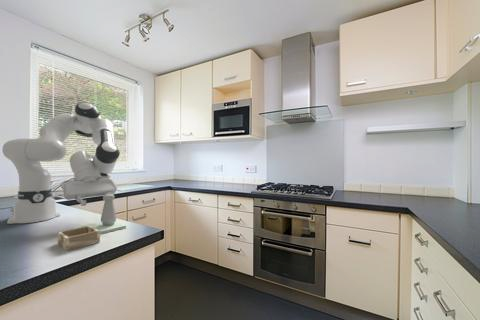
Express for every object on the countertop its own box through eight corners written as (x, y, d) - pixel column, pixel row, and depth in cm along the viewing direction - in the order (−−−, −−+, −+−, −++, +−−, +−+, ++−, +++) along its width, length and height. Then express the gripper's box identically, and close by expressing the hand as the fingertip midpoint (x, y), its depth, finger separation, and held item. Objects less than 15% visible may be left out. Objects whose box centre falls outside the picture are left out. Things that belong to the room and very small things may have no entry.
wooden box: (57, 243, 75) (57, 232, 75) (89, 236, 83) (89, 225, 83) (66, 250, 69) (66, 238, 69) (99, 241, 77) (99, 230, 77)
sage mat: (81, 228, 92) (81, 226, 92) (111, 221, 101) (111, 219, 101) (94, 235, 83) (94, 233, 83) (126, 227, 93) (126, 225, 93)
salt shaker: (97, 225, 93) (97, 195, 93) (109, 221, 98) (109, 193, 98) (107, 227, 90) (107, 196, 90) (119, 223, 96) (119, 194, 96)
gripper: (61, 176, 91) (69, 202, 85) (112, 173, 108) (122, 195, 102) (57, 186, 94) (65, 212, 88) (108, 182, 110) (117, 203, 105)
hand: (96, 203), depth 95 cm, fingers open, 8 cm apart
